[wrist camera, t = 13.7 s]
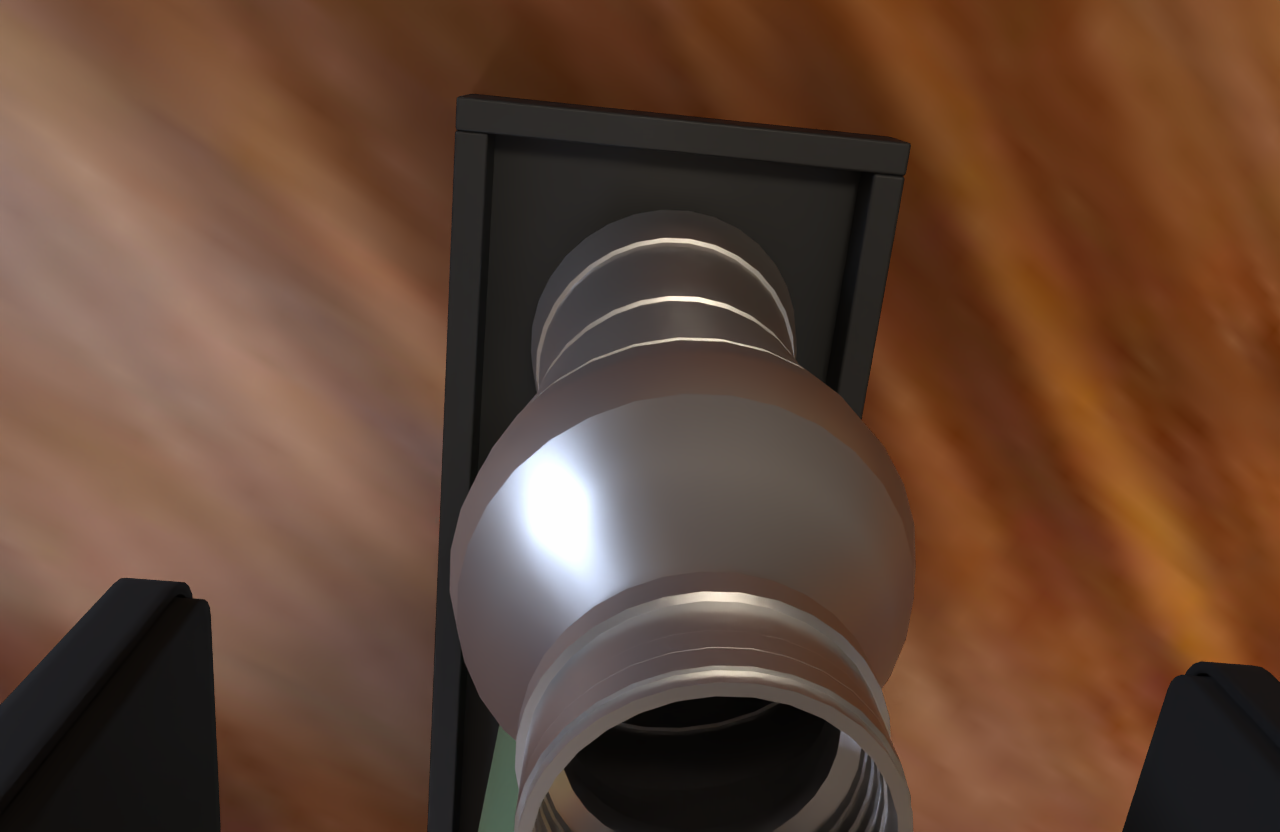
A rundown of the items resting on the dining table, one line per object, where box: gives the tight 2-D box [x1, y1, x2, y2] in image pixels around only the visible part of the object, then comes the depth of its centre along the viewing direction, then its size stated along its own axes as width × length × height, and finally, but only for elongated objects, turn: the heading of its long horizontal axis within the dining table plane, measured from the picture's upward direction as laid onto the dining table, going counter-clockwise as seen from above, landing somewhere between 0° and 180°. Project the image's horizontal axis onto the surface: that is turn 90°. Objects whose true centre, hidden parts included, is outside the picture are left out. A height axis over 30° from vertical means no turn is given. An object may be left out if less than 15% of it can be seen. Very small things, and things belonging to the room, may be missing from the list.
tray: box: [427, 94, 911, 832], centre depth 31 cm, size 30×11×2 cm, turn 174°
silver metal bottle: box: [450, 210, 916, 832], centre depth 19 cm, size 6×7×20 cm
